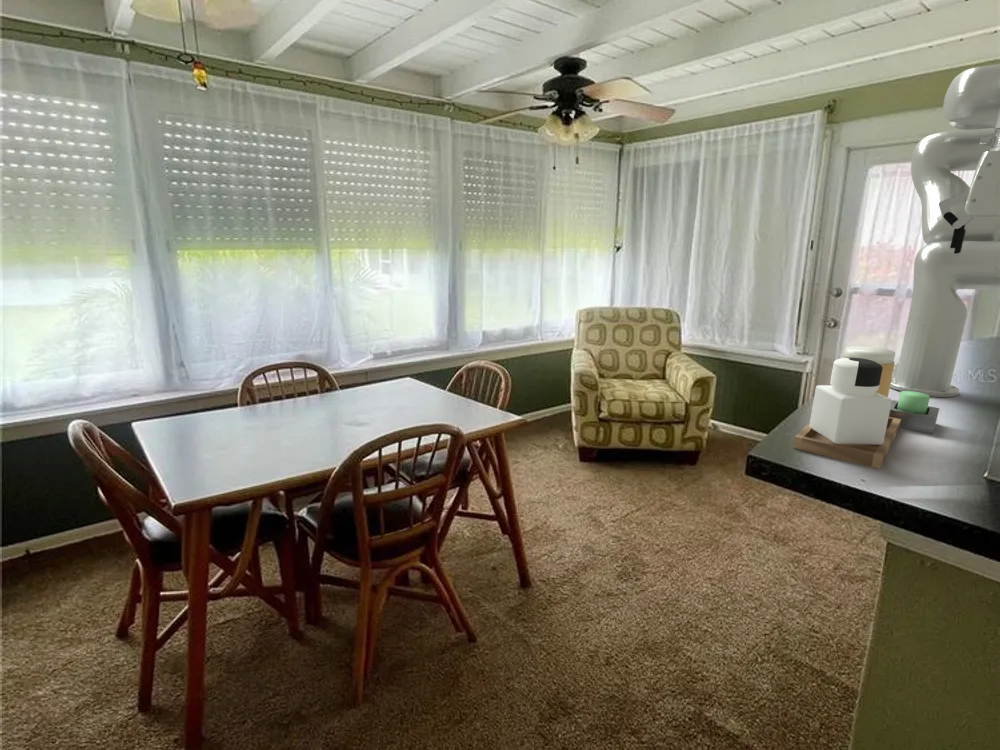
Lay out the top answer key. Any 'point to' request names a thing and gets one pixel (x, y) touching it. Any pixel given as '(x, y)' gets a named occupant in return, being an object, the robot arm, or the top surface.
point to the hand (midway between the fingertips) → (995, 254)
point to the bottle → (879, 356)
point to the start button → (913, 402)
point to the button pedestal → (915, 418)
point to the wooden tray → (848, 446)
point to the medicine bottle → (851, 404)
